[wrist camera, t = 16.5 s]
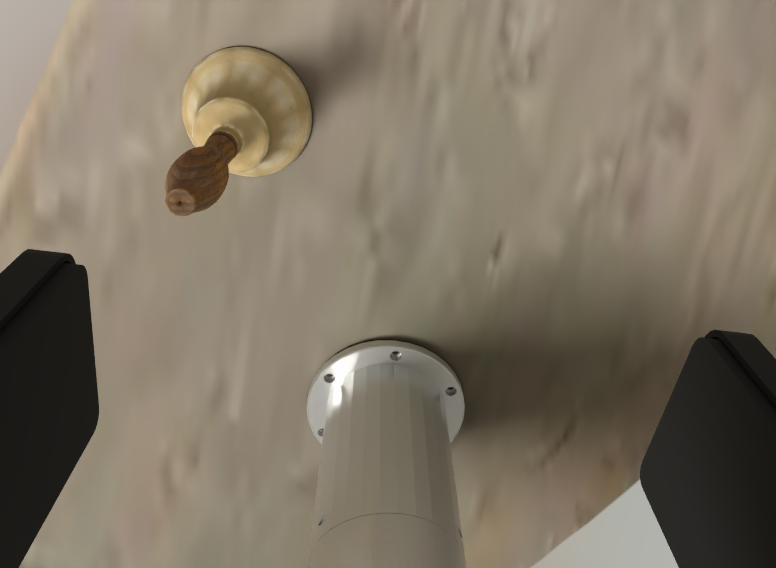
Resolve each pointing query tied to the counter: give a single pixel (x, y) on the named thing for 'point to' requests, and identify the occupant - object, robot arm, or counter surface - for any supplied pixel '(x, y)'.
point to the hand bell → (236, 125)
